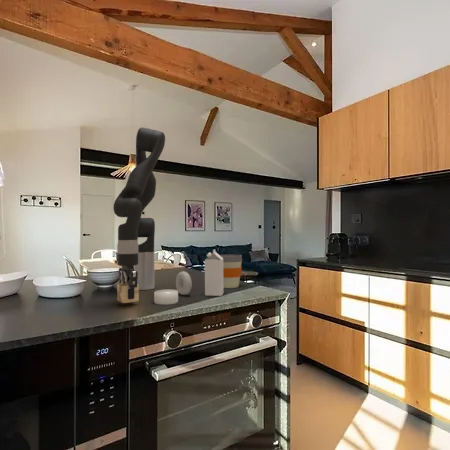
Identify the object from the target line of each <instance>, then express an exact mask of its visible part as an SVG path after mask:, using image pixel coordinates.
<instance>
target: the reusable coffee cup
mask: <svg viewBox="0 0 450 450" xmlns="http://www.w3.org/2000/svg"><path fill="white" fill-rule="evenodd" d="M219 255H220V256H221V257H222V258H223V282H224V289H235V288H239V286H240V279H241V276H242V269H243V267H242V262H243V256H242V254H231V253H229V254H219Z"/></svg>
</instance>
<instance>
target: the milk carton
mask: <svg viewBox="0 0 450 450" xmlns="http://www.w3.org/2000/svg"><path fill="white" fill-rule="evenodd" d="M220 255H221V254H219V253H217V251H216V249H213V250H212V252H208V253H207V254H206V257H207V258H205V259H204V296H206V297H207V296H213V297H215V296H216V297H218V296H219V297H221V296H223V294H224V291H225V290H224V289H225V288H224V282H223V258H222V257H221V256H220Z"/></svg>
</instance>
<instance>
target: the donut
mask: <svg viewBox="0 0 450 450" xmlns="http://www.w3.org/2000/svg"><path fill="white" fill-rule="evenodd" d="M175 277H176V278H175V287H176V290H177V291H178V294H179V295H181V296H187V295H189V294H190V292H191V289H192V285H193V283H192V282H193V281H192V277H191V275H190V274H189V273H188V272H187V271H184V270H183V271H180V272H179V273H178V274H177V275H176V276H175Z"/></svg>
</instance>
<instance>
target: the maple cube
mask: <svg viewBox="0 0 450 450" xmlns="http://www.w3.org/2000/svg"><path fill="white" fill-rule="evenodd" d="M116 285H117V286H116V288H117V289H116V290H117V291H116V292H117V293H116V294H117V298H116V299H117V301H118V302H120V303H122V304H125V303H126V304H128V303H133V302H139V301H140V300H139V299H140V290H139V285H138V284H137V287H135V288H134V299H128V286H127V283H123V284H120V283H117V284H116Z"/></svg>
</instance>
